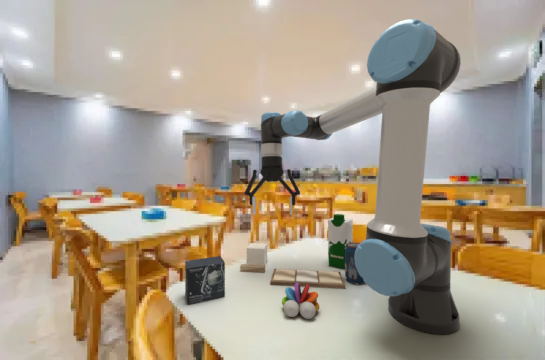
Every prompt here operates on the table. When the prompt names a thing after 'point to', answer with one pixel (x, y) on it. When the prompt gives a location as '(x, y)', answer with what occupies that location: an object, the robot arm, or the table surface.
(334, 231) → the milk carton
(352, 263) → the soda can
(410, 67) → the robot arm
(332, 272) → the board
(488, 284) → the table surface
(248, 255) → the white cube
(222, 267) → the box
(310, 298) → the rainbow petal fan toy
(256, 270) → the stick
